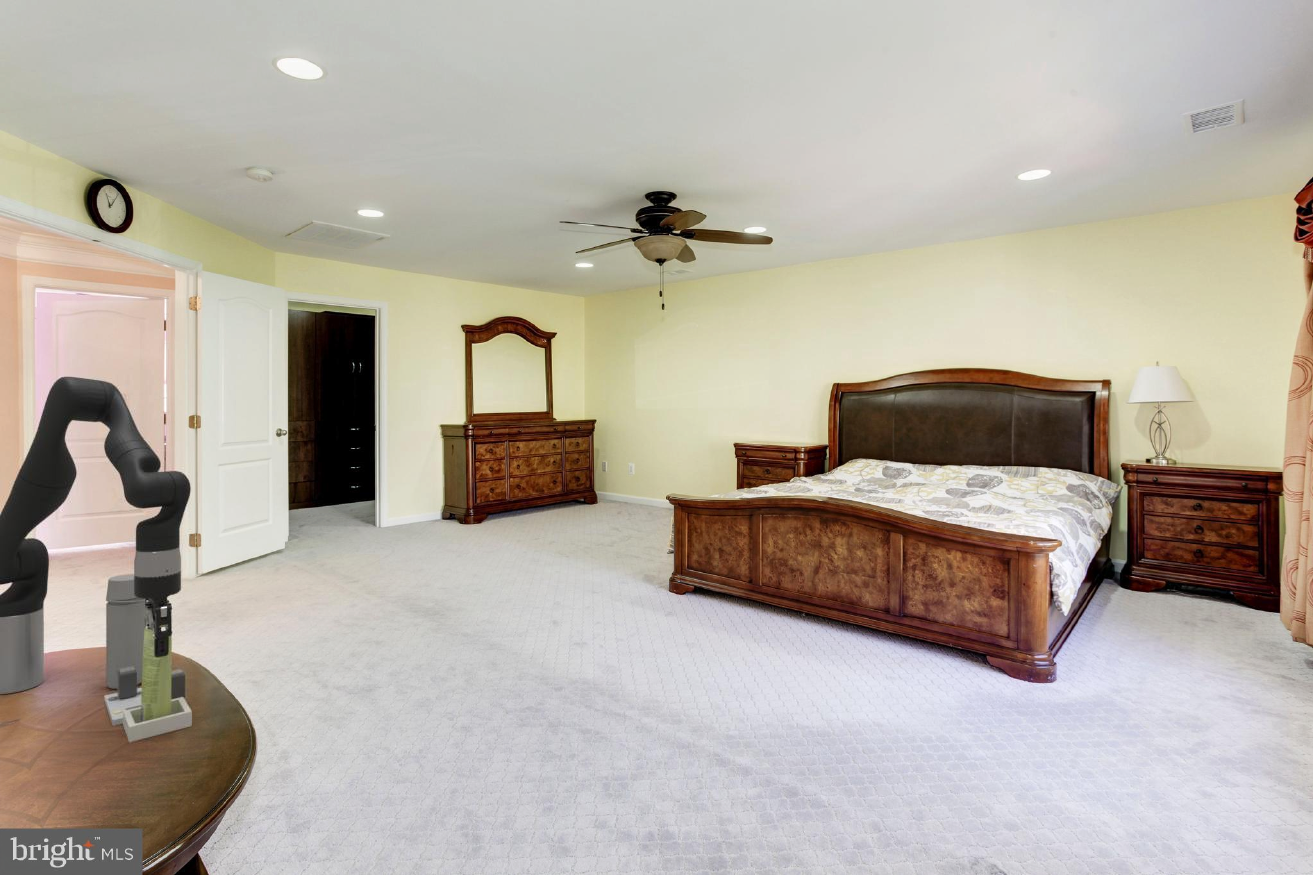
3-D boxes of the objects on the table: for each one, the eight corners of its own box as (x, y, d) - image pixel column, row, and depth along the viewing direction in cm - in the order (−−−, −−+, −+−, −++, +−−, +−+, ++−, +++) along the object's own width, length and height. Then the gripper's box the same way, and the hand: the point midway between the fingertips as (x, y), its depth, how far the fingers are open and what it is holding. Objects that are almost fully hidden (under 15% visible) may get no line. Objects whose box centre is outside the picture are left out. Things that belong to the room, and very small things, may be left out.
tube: (177, 717, 137) (178, 625, 136) (171, 728, 132) (171, 632, 131) (144, 721, 134) (144, 627, 134) (136, 733, 130) (136, 636, 129)
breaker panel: (104, 700, 143) (104, 694, 143) (169, 686, 151) (169, 680, 151) (112, 726, 132) (112, 718, 132) (182, 708, 140) (182, 702, 140)
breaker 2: (165, 696, 142) (165, 671, 142) (182, 692, 144) (182, 667, 144) (168, 701, 140) (168, 675, 140) (185, 697, 142) (185, 672, 142)
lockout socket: (122, 725, 133) (123, 710, 132) (183, 710, 140) (183, 696, 140) (129, 742, 126) (129, 727, 126) (191, 725, 133) (191, 711, 133)
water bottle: (105, 694, 146) (105, 583, 145) (106, 681, 152) (106, 575, 151) (157, 684, 152) (157, 577, 151) (156, 673, 158) (156, 570, 157)
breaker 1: (117, 694, 143) (117, 668, 143) (134, 690, 145) (134, 665, 145) (119, 698, 141) (119, 673, 140) (136, 694, 143) (136, 669, 143)
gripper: (187, 575, 129) (187, 655, 130) (174, 561, 139) (173, 636, 140) (139, 581, 124) (139, 665, 125) (129, 566, 134) (129, 644, 135)
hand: (157, 650), depth 132 cm, fingers open, 8 cm apart
